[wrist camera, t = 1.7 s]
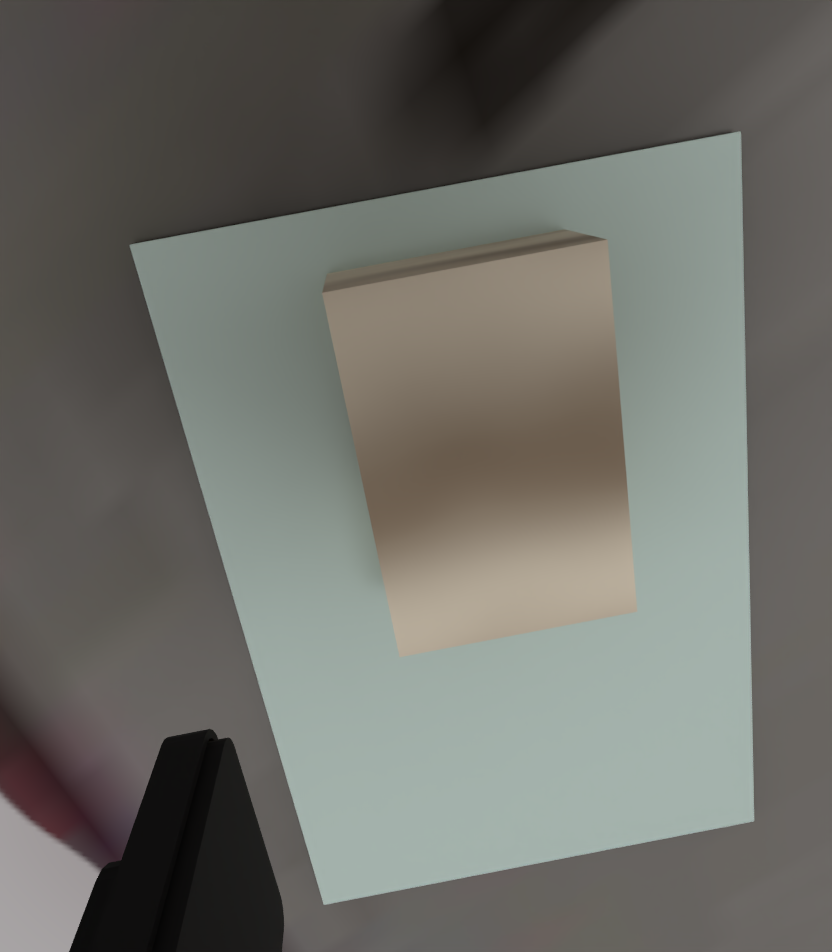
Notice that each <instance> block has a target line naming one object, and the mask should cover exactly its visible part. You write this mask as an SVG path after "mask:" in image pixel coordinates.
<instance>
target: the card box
mask: <svg viewBox="0 0 832 952" xmlns="http://www.w3.org/2000/svg"><path fill="white" fill-rule="evenodd" d="M322 295H323V300H324V305H325V309H326V314H327V319H328V323H329V328H330V333H331V337H332V342H333V347H334V352H335V356H336V361H337V366H338V370H339V375H340V380H341V384H342V389H343V394H344V399H345V403H346V408H347V413H348V417H349V422H350V427H351V431H352V436H353V441H354V446H355V450H356V455H357V460H358V464H359V469H360V474H361V478H362V483H363V488H364V493H365V497H366V502H367V507H368V511H369V516H370V521H371V525H372V530H373V535H374V539H375V544H376V549H377V554H378V558H379V563H380V568H381V572H382V577H383V582H384V586H385V591H386V596H387V601H388V605H389V610H390V615H391V619H392V624H393V629H394V633H395V638H396V643H397V648H398V652H399V657H404V656H409V655H414V654H419V653H424V652H430V651H435V650H440V649H445V648H451V647H456V646H461V645H466V644H471V643H477V642H482V641H487V640H492V639H498V638H503V637H508V636H513V635H518V634H524V633H529V632H534V631H539V630H545V629H550V628H555V627H560V626H565V625H571V624H576V623H581V622H586V621H592V620H597V619H602V618H607V617H613V616H618V615H623V614H628V613H633V612H637V602H636V589H635V577H634V564H633V551H632V539H631V526H630V514H629V501H628V489H627V476H626V464H625V451H624V439H623V426H622V414H621V401H620V388H619V376H618V363H617V351H616V338H615V326H614V313H613V301H612V288H611V276H610V263H609V250H608V240H607V239H603V238H599V237H595V236H591V235H586V234H582V233H578V232H574V231H570V230H565V229H564V230H559V231H553V232H548V233H543V234H537V235H532V236H527V237H521V238H516V239H510V240H505V241H500V242H494V243H489V244H484V245H478V246H473V247H468V248H462V249H457V250H451V251H446V252H441V253H435V254H430V255H425V256H419V257H414V258H409V259H403V260H398V261H392V262H387V263H382V264H376V265H371V266H366V267H360V268H355V269H350V270H344V271H339V272H333V273H328V274H327V276H326V280H325V283H324V287H323V291H322Z"/></svg>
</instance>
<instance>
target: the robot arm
mask: <svg viewBox="0 0 832 952" xmlns="http://www.w3.org/2000/svg"><path fill="white" fill-rule="evenodd" d="M283 932H284V915H283V906H282V900H281V896H280V893H279V889H278V886H277V883H276V880H275V876H274V873H273V870H272V867H271V863H270V860H269V857H268V854H267V850H266V847H265V844H264V841H263V837H262V834H261V831H260V828H259V824H258V821H257V818H256V815H255V812H254V808H253V805H252V802H251V799H250V795H249V792H248V789H247V786H246V782H245V779H244V776H243V773H242V769H241V766H240V763H239V760H238V756H237V753H236V750H235V747H234V744H233V742H232V740H231V739H230V738H224V739H219V740H218V738H217V735H216V734H215V732H214V731H213V730H211V729H208V730H203V731H197V732H192V733H187V734H182V735H177V736H172V737H168V738H166V739H164V741H163V743H162V745H161V748H160V751H159V754H158V757H157V760H156V762H155V765H154V768H153V771H152V774H151V777H150V780H149V782H148V785H147V788H146V791H145V794H144V797H143V800H142V803H141V805H140V808H139V811H138V814H137V817H136V820H135V823H134V825H133V828H132V831H131V834H130V837H129V840H128V843H127V845H126V848H125V851H124V854H123V857H122V860H121V861H116V862H111V863H108V864H107V865H106V866H105V867H104V868H103V869H102V870H101V872H100V874H99V876H98V878H97V880H96V882H95V885H94V887H93V890H92V892H91V895H90V898H89V900H88V903H87V906H86V908H85V911H84V914H83V916H82V919H81V922H80V924H79V927H78V930H77V932H76V935H75V938H74V940H73V943H72V946H71V948H70V951H69V952H282V943H283Z"/></svg>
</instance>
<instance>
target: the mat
mask: <svg viewBox="0 0 832 952" xmlns="http://www.w3.org/2000/svg"><path fill="white" fill-rule="evenodd" d="M564 229H565V230H570V231H574V232H578V233H582V234H586V235H591V236H595V237H599V238H603V239H607V240H608V250H609V263H610V276H611V288H612V301H613V313H614V326H615V338H616V351H617V363H618V376H619V388H620V401H621V414H622V426H623V439H624V451H625V464H626V476H627V489H628V501H629V514H630V526H631V539H632V551H633V564H634V577H635V589H636V602H637V612H633V613H628V614H623V615H618V616H613V617H607V618H602V619H597V620H592V621H586V622H581V623H576V624H571V625H565V626H560V627H555V628H550V629H545V630H539V631H534V632H529V633H524V634H518V635H513V636H508V637H503V638H498V639H492V640H487V641H482V642H477V643H471V644H466V645H461V646H456V647H451V648H445V649H440V650H435V651H430V652H424V653H419V654H414V655H409V656H404V657H399V652H398V648H397V643H396V638H395V633H394V629H393V624H392V619H391V615H390V610H389V605H388V601H387V596H386V591H385V586H384V582H383V577H382V572H381V568H380V563H379V558H378V554H377V549H376V544H375V539H374V535H373V530H372V525H371V521H370V516H369V511H368V507H367V502H366V497H365V493H364V488H363V483H362V478H361V474H360V469H359V464H358V460H357V455H356V450H355V446H354V441H353V436H352V431H351V427H350V422H349V417H348V413H347V408H346V403H345V399H344V394H343V389H342V384H341V380H340V375H339V370H338V366H337V361H336V356H335V352H334V347H333V342H332V337H331V333H330V328H329V323H328V319H327V314H326V309H325V305H324V300H323V295H322V291H323V287H324V283H325V280H326V276H327V274H328V273H333V272H339V271H344V270H350V269H355V268H360V267H366V266H371V265H376V264H382V263H387V262H392V261H398V260H403V259H409V258H414V257H419V256H425V255H430V254H435V253H441V252H446V251H451V250H457V249H462V248H468V247H473V246H478V245H484V244H489V243H494V242H500V241H505V240H510V239H516V238H521V237H527V236H532V235H537V234H543V233H548V232H553V231H559V230H564ZM130 249H131V252H132V255H133V259H134V262H135V266H136V269H137V272H138V276H139V279H140V283H141V286H142V289H143V293H144V296H145V300H146V303H147V306H148V310H149V313H150V316H151V320H152V323H153V327H154V330H155V333H156V337H157V340H158V344H159V347H160V350H161V354H162V357H163V361H164V364H165V367H166V371H167V374H168V378H169V381H170V384H171V388H172V391H173V394H174V398H175V401H176V405H177V408H178V411H179V415H180V418H181V422H182V425H183V428H184V432H185V435H186V439H187V442H188V445H189V449H190V452H191V456H192V459H193V462H194V466H195V469H196V473H197V476H198V479H199V483H200V486H201V489H202V493H203V496H204V500H205V503H206V506H207V510H208V513H209V517H210V520H211V523H212V527H213V530H214V534H215V537H216V540H217V544H218V547H219V551H220V554H221V557H222V561H223V564H224V567H225V571H226V574H227V578H228V581H229V584H230V588H231V591H232V595H233V598H234V601H235V605H236V608H237V612H238V615H239V618H240V622H241V625H242V629H243V632H244V635H245V639H246V642H247V645H248V649H249V652H250V656H251V659H252V662H253V666H254V669H255V673H256V676H257V679H258V683H259V686H260V690H261V693H262V696H263V700H264V703H265V707H266V710H267V713H268V717H269V720H270V723H271V727H272V730H273V734H274V737H275V740H276V744H277V747H278V751H279V754H280V757H281V761H282V764H283V768H284V771H285V774H286V778H287V781H288V785H289V788H290V791H291V795H292V798H293V801H294V805H295V808H296V812H297V815H298V818H299V822H300V825H301V829H302V832H303V835H304V839H305V842H306V846H307V849H308V852H309V856H310V859H311V863H312V866H313V869H314V873H315V876H316V879H317V883H318V886H319V890H320V893H321V896H322V900H323V903H324V905H325V904H331V903H336V902H341V901H346V900H351V899H356V898H361V897H367V896H372V895H377V894H382V893H387V892H392V891H397V890H403V889H408V888H413V887H418V886H423V885H428V884H433V883H439V882H444V881H449V880H454V879H459V878H464V877H469V876H475V875H480V874H485V873H490V872H495V871H500V870H505V869H511V868H516V867H521V866H526V865H531V864H536V863H541V862H547V861H552V860H557V859H562V858H567V857H572V856H577V855H583V854H588V853H593V852H598V851H603V850H608V849H613V848H619V847H624V846H629V845H634V844H639V843H644V842H649V841H655V840H660V839H665V838H670V837H675V836H680V835H685V834H691V833H696V832H701V831H706V830H711V829H716V828H721V827H727V826H732V825H737V824H742V823H747V822H752V821H754V789H753V736H752V684H751V631H750V579H749V526H748V474H747V421H746V369H745V316H744V264H743V211H742V159H741V132H733V133H727V134H722V135H717V136H711V137H706V138H700V139H695V140H690V141H684V142H679V143H673V144H668V145H663V146H657V147H652V148H647V149H641V150H636V151H630V152H625V153H620V154H614V155H609V156H603V157H598V158H593V159H587V160H582V161H576V162H571V163H566V164H560V165H555V166H550V167H544V168H539V169H533V170H528V171H523V172H517V173H512V174H506V175H501V176H496V177H490V178H485V179H479V180H474V181H469V182H463V183H458V184H453V185H447V186H442V187H436V188H431V189H426V190H420V191H415V192H409V193H404V194H399V195H393V196H388V197H383V198H377V199H372V200H366V201H361V202H356V203H350V204H345V205H339V206H334V207H329V208H323V209H318V210H312V211H307V212H302V213H296V214H291V215H286V216H280V217H275V218H269V219H264V220H259V221H253V222H248V223H242V224H237V225H232V226H226V227H221V228H215V229H210V230H205V231H199V232H194V233H189V234H183V235H178V236H172V237H167V238H162V239H156V240H151V241H145V242H140V243H135V244H131V245H130Z"/></svg>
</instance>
